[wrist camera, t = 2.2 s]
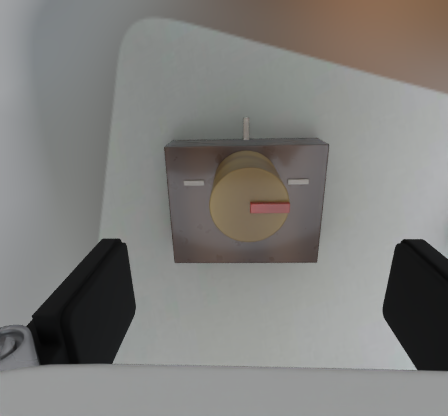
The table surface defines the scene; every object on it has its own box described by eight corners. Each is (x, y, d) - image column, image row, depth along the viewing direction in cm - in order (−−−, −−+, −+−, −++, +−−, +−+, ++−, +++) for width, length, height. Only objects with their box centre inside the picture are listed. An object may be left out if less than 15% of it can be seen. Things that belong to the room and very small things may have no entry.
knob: (215, 211, 22) (210, 245, 17) (213, 150, 20) (207, 169, 16) (276, 211, 22) (288, 245, 17) (279, 149, 20) (293, 168, 15)
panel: (180, 245, 26) (174, 264, 23) (170, 115, 23) (160, 119, 20) (308, 244, 26) (317, 264, 23) (320, 112, 22) (333, 116, 19)
